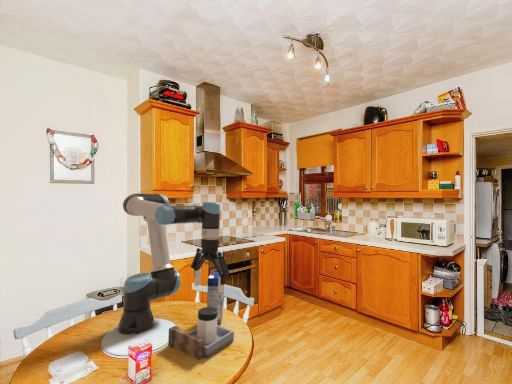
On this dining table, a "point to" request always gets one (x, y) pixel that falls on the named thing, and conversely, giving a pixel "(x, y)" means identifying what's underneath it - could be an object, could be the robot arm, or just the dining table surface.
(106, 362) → the dining table surface
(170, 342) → the door board
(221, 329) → the tray
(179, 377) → the dining table surface
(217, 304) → the beverage box
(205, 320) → the jar
